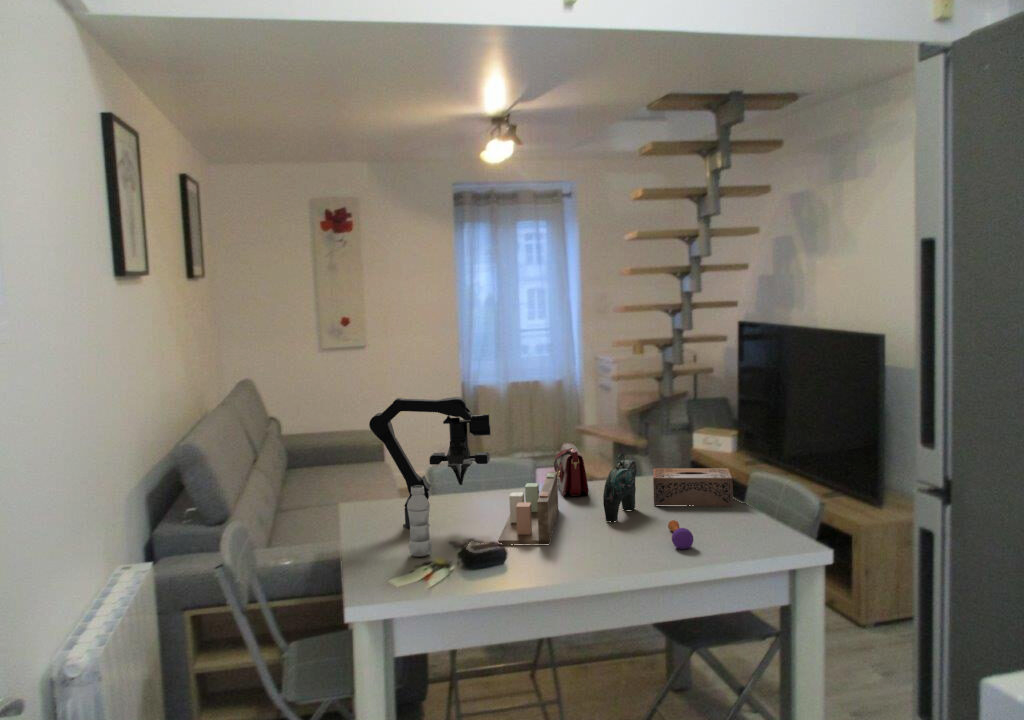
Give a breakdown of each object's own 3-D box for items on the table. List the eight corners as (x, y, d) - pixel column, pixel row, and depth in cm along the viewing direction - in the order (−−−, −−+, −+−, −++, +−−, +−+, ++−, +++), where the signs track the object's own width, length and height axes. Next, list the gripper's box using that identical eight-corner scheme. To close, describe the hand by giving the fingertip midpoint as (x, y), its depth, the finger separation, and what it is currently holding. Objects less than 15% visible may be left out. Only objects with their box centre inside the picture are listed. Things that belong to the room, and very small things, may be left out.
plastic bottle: (420, 550, 233) (417, 483, 231) (437, 554, 228) (433, 485, 227) (404, 556, 228) (400, 487, 226) (420, 561, 223) (417, 490, 222)
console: (498, 545, 234) (496, 500, 233) (514, 509, 272) (512, 470, 271) (549, 545, 232) (547, 500, 231) (558, 509, 270) (557, 470, 269)
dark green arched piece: (624, 506, 270) (623, 448, 269) (642, 508, 267) (641, 449, 265) (600, 522, 253) (598, 460, 252) (619, 524, 250) (617, 461, 248)
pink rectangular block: (517, 534, 238) (516, 506, 237) (519, 529, 243) (517, 502, 242) (530, 534, 238) (529, 506, 237) (532, 529, 242) (530, 502, 241)
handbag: (553, 481, 310) (551, 437, 309) (580, 480, 310) (578, 436, 309) (560, 500, 282) (558, 451, 281) (590, 498, 283) (588, 450, 281)
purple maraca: (684, 517, 242) (696, 532, 222) (681, 536, 242) (693, 553, 222) (665, 514, 242) (675, 528, 222) (662, 533, 242) (671, 549, 222)
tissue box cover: (654, 507, 269) (653, 478, 268) (653, 496, 283) (653, 468, 283) (732, 507, 265) (732, 478, 264) (728, 496, 279) (728, 468, 278)
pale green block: (526, 512, 262) (525, 486, 261) (527, 508, 266) (526, 483, 266) (538, 512, 261) (537, 486, 261) (539, 508, 266) (538, 483, 265)
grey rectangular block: (510, 522, 250) (509, 496, 250) (512, 518, 255) (511, 492, 254) (523, 522, 250) (522, 496, 249) (524, 518, 254) (523, 492, 254)
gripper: (424, 442, 248) (426, 491, 249) (483, 441, 245) (485, 490, 247) (432, 435, 259) (434, 482, 260) (489, 434, 256) (491, 482, 258)
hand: (461, 484), depth 256 cm, fingers closed
